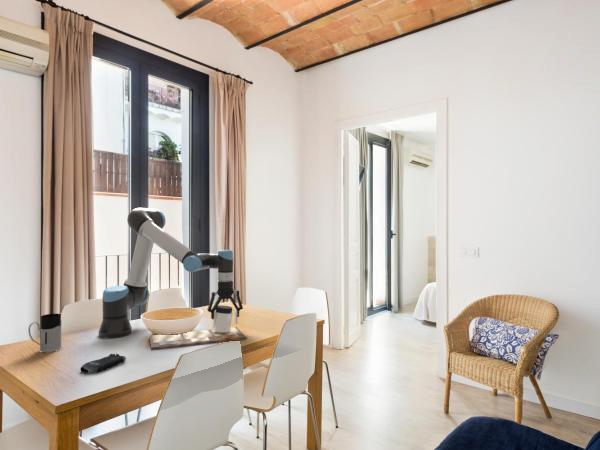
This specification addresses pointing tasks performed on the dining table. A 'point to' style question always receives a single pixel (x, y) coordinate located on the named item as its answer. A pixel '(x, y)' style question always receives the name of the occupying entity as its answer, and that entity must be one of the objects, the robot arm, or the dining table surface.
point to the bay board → (194, 338)
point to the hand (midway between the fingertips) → (225, 324)
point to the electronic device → (103, 364)
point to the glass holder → (49, 332)
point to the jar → (223, 319)
